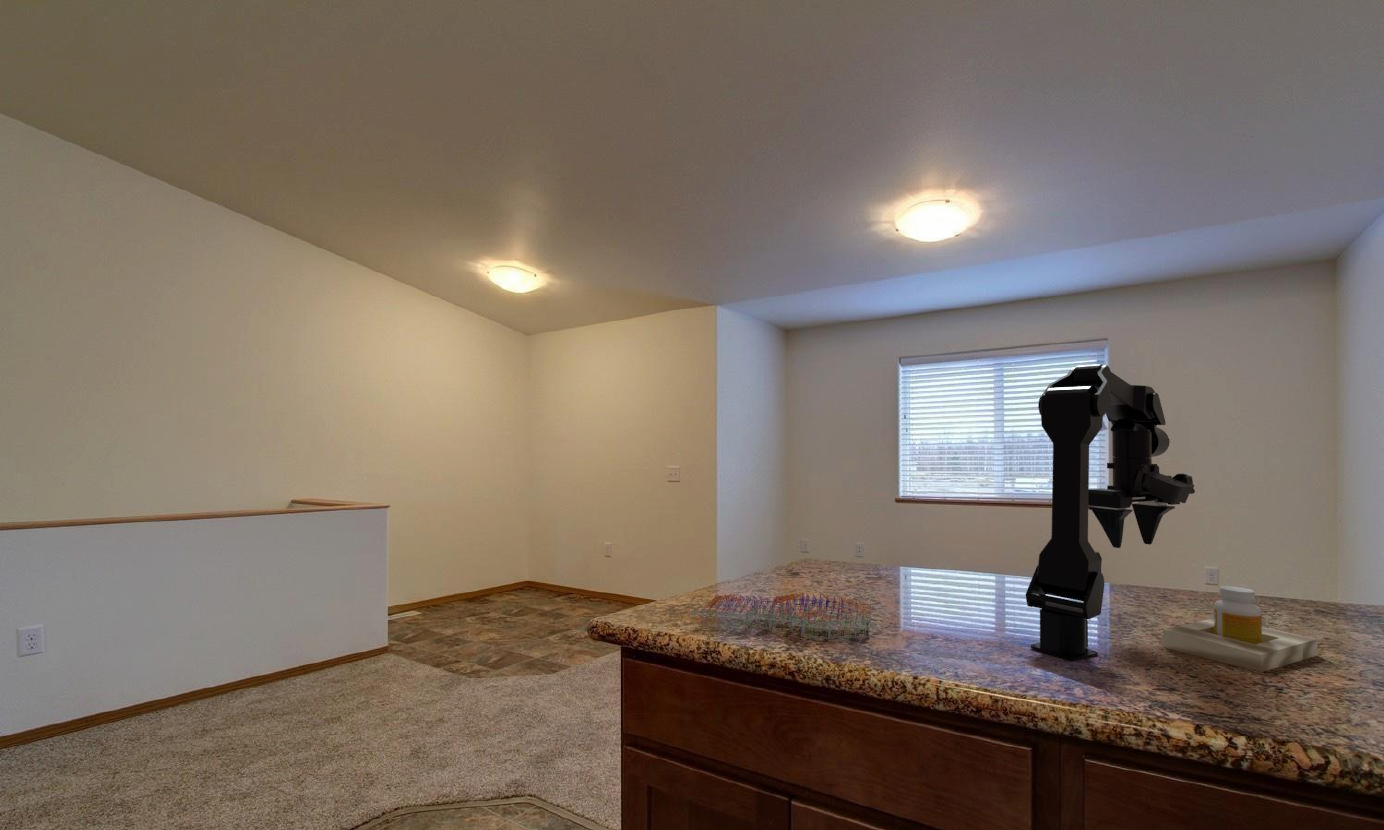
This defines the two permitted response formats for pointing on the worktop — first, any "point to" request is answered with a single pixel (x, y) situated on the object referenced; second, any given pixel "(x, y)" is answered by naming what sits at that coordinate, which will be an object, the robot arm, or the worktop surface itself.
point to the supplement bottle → (1238, 615)
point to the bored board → (1240, 646)
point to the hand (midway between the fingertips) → (1132, 545)
